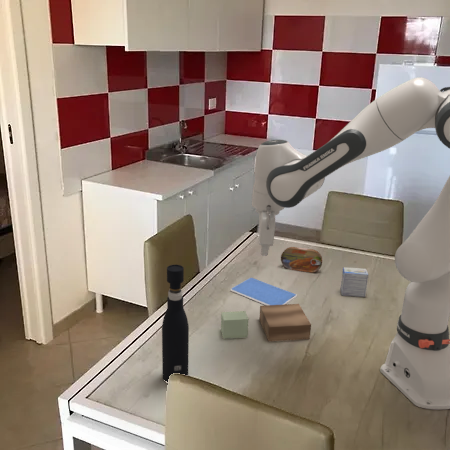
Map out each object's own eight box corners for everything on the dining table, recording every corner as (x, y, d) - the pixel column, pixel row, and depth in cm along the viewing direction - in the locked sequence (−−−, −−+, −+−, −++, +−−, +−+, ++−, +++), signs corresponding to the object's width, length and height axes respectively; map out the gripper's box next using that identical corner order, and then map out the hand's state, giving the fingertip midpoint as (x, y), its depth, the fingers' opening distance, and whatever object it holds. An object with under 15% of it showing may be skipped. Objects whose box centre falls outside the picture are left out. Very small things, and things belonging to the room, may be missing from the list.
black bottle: (175, 366, 133) (175, 259, 123) (193, 376, 129) (195, 267, 119) (157, 377, 128) (155, 268, 118) (175, 388, 125) (175, 276, 114)
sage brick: (247, 337, 147) (248, 319, 145) (223, 339, 146) (223, 320, 144) (244, 329, 151) (245, 311, 149) (220, 330, 150) (221, 312, 148)
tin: (279, 268, 191) (281, 247, 188) (281, 264, 194) (283, 244, 191) (320, 274, 187) (323, 253, 184) (321, 271, 190) (324, 249, 187)
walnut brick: (309, 340, 147) (311, 324, 145) (268, 342, 145) (269, 327, 144) (297, 318, 158) (298, 303, 156) (259, 320, 156) (260, 305, 155)
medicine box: (363, 291, 176) (366, 268, 172) (365, 297, 171) (368, 274, 168) (339, 289, 176) (342, 266, 173) (341, 295, 172) (344, 272, 169)
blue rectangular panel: (298, 297, 171) (298, 294, 171) (277, 312, 162) (277, 308, 161) (250, 279, 182) (251, 276, 182) (228, 292, 173) (228, 288, 172)
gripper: (281, 214, 128) (276, 264, 133) (279, 189, 147) (274, 234, 152) (256, 212, 128) (252, 263, 133) (257, 187, 147) (253, 232, 152)
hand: (264, 247), depth 143 cm, fingers open, 8 cm apart
